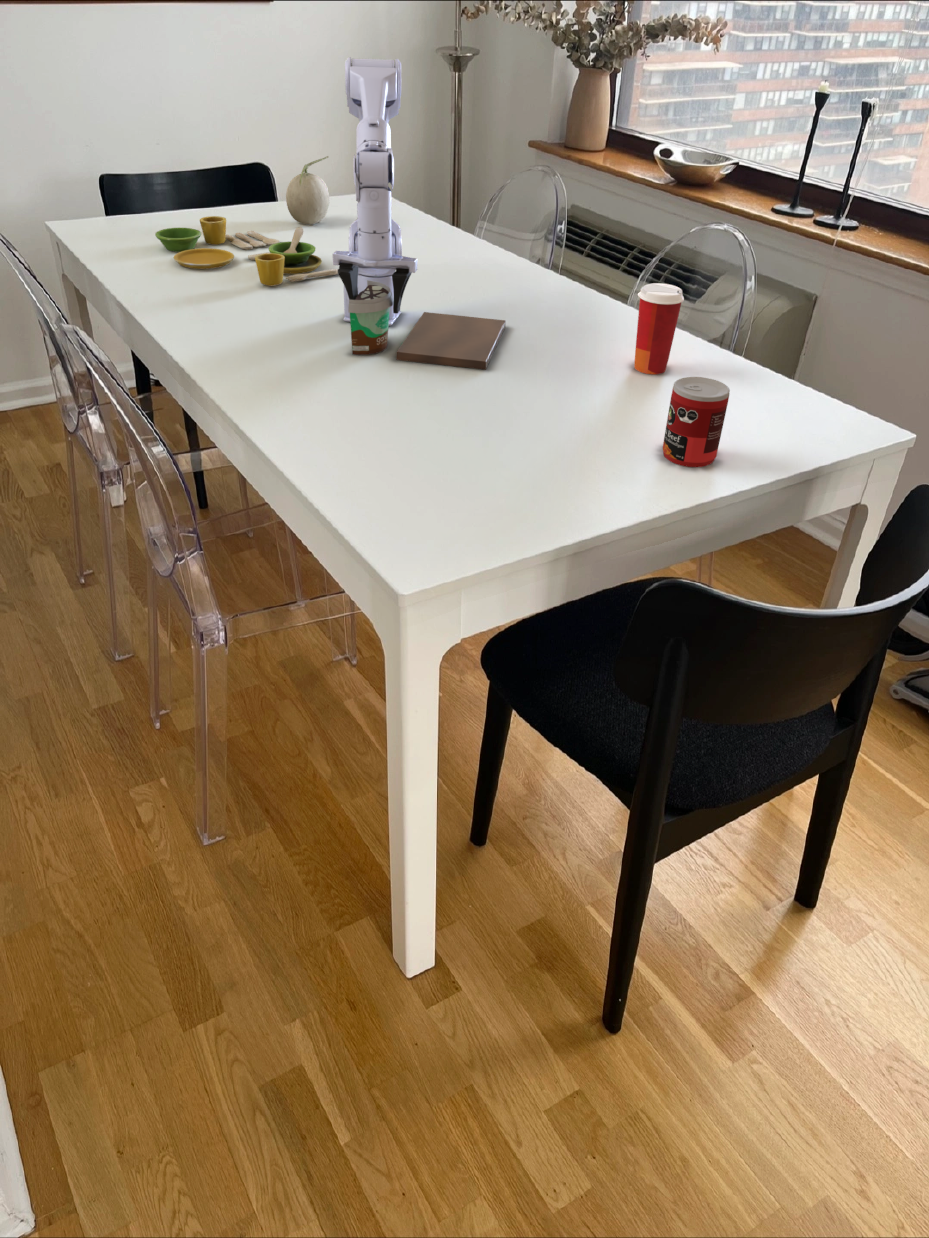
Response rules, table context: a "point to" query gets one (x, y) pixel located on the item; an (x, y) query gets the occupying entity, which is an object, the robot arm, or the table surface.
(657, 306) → the paper cup
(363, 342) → the food container
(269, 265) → the tableware set
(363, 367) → the table surface
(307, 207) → the fruit
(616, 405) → the table surface
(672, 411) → the canned food
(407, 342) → the walnut board
